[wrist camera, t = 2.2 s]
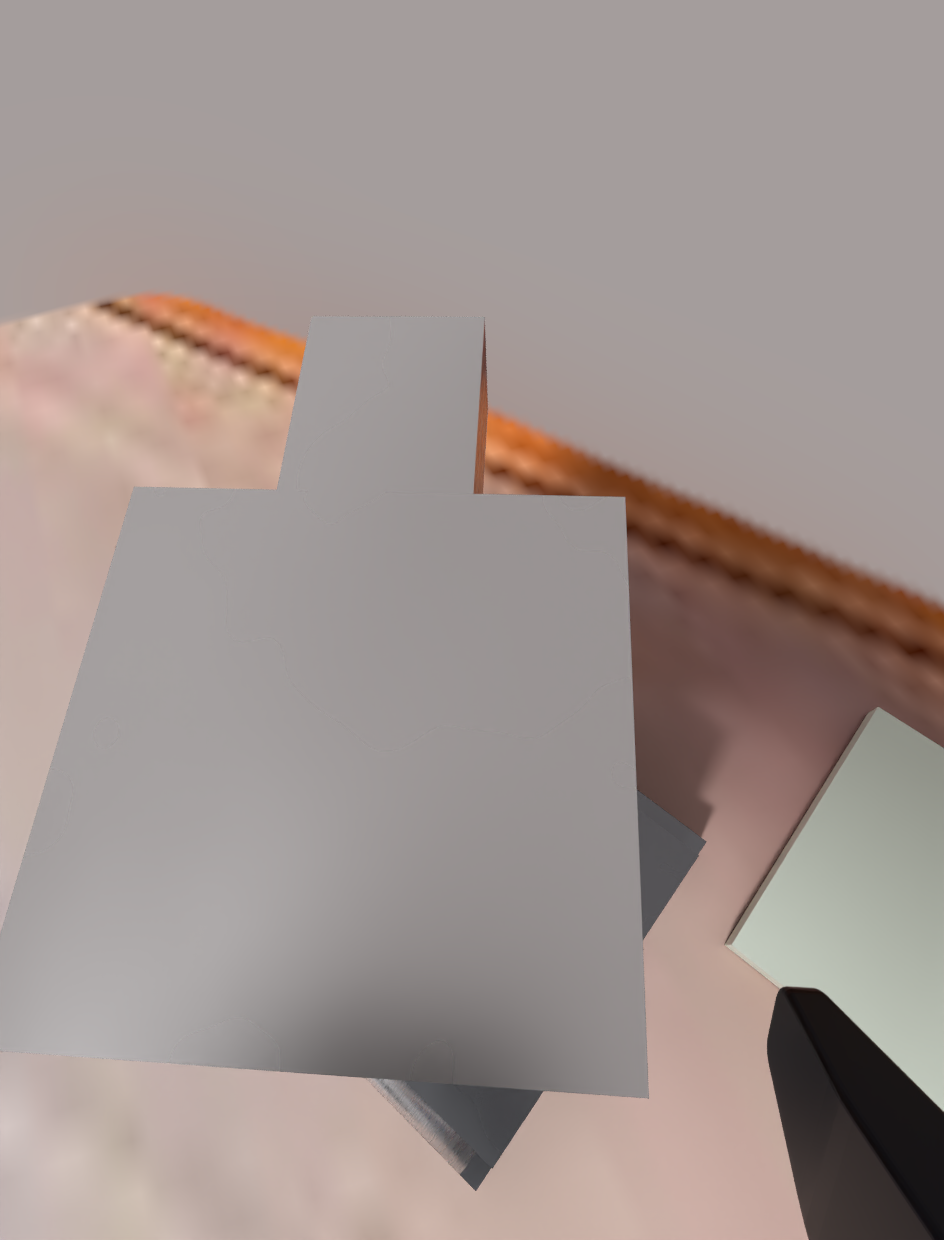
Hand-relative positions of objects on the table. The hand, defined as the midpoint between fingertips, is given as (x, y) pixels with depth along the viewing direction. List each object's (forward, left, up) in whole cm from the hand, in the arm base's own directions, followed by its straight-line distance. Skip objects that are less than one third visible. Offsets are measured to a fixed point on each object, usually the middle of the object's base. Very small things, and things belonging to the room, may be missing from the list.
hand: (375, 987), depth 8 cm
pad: (+8, -9, -10) cm, 16 cm away
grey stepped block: (+3, +2, -7) cm, 8 cm away
